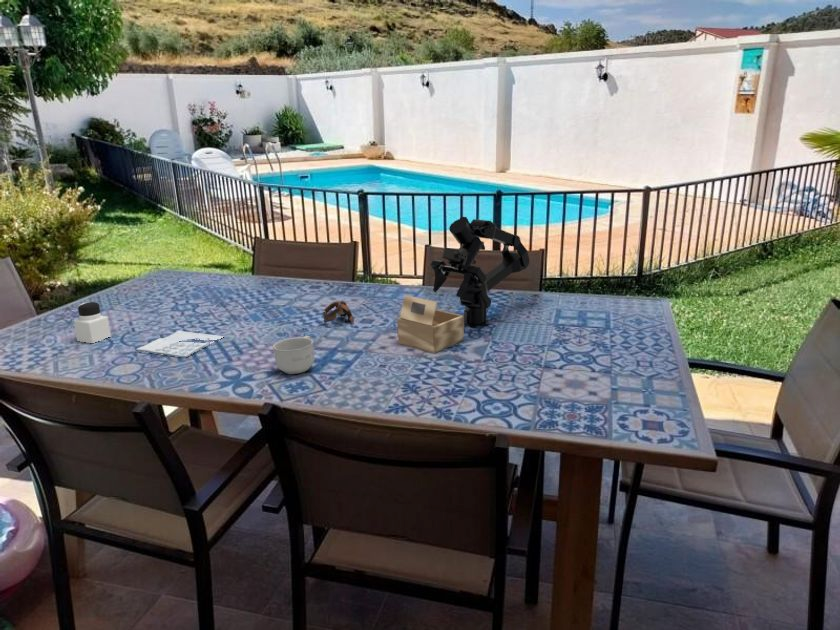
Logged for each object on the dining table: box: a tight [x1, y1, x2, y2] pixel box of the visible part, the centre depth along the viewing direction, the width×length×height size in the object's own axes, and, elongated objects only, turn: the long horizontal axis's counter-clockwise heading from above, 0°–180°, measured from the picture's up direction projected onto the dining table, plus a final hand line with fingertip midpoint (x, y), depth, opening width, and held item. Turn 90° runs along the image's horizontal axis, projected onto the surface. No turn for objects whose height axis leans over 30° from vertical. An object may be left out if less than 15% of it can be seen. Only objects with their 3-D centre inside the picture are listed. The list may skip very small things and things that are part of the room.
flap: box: [399, 294, 438, 326], centre depth 186 cm, size 7×12×1 cm
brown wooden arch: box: [322, 300, 355, 325], centre depth 215 cm, size 12×10×8 cm
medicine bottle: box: [73, 301, 112, 344], centre depth 200 cm, size 7×7×12 cm
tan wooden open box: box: [396, 308, 465, 354], centre depth 192 cm, size 14×15×8 cm
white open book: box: [136, 330, 225, 359], centre depth 195 cm, size 19×20×2 cm
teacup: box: [272, 335, 315, 375], centre depth 174 cm, size 14×11×8 cm
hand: (445, 293), depth 195 cm, fingers open, 9 cm apart
